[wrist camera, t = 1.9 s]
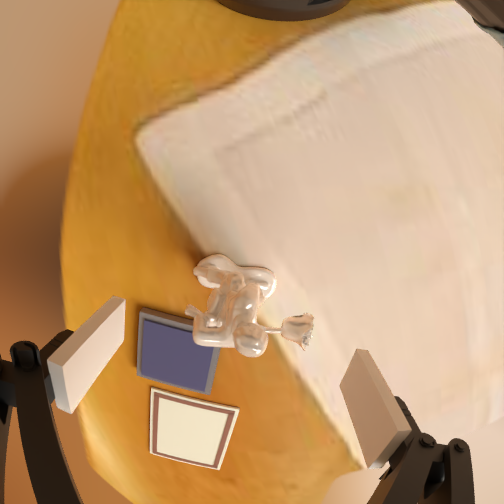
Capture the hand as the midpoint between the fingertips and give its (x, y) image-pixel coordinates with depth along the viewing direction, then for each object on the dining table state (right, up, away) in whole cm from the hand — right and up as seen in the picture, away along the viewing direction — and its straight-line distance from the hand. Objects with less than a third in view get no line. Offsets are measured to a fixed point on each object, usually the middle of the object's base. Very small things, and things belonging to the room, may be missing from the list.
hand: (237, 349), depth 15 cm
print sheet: (-7, -17, +16) cm, 25 cm away
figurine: (0, +3, +11) cm, 11 cm away
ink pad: (-7, -5, +13) cm, 15 cm away
